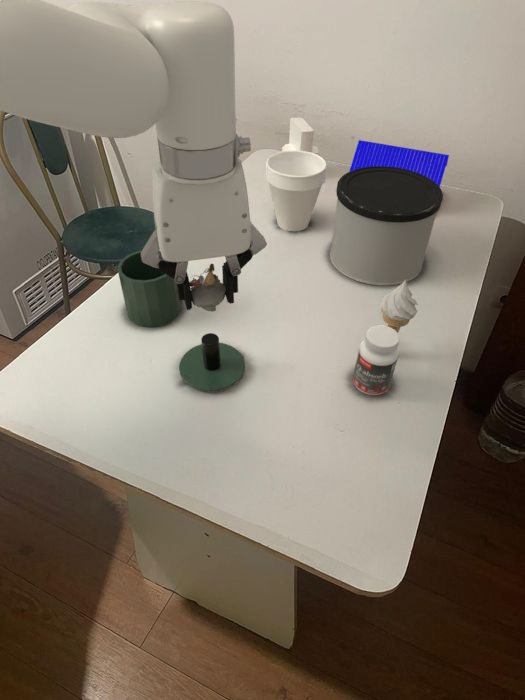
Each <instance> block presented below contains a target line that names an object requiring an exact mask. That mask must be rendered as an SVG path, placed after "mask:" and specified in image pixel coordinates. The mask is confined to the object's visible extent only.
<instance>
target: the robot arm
mask: <svg viewBox="0 0 525 700" xmlns="http://www.w3.org/2000/svg"><path fill="white" fill-rule="evenodd" d="M235 55H236V54H235V27H234V23H233V19H232V17H231V15H230V13H229V12H228V11H227V10H226V8H224V7H222V6H221V5H218V4H215V3H213V2H209V1H208V2H207V1H200V0H175V1H167V2H164V3H159V4H157V5H155V6H149V5H148V6H147V5H131V4H122V3H121V4H120V3H113V2H111V3H110V2H101V1H82V2H77V3H74V4H71V5H69V6H67V7H65V8H64V7H61V6H58V5H55V4H53V3H50V2H47V1H44V0H0V111H1V112H4V113H6V114H10V115H12V116H15V117H19V118H22V119H26V120H29V121H33V122H35V123H41V124H44V125H48V126H53V127H57V128H61V129H66V130H69V131H73V132H78V133H82V134H87V135H90V136H95V137H100V138H109V139H126V138H132V137H136V136H138V135H141V134H143V133H145V132H147V131H149V130H150V129H151V128H153V126H154V125H155V130H156V137H157V138H156V139H157V147H158V155H159V161H157V162H156V163H155V164H154V165H153V169H152V185H151V186H152V187H151V188H152V189H151V191H152V207H153V210H152V211H153V219H154V220H153V221H154V230H153V231H152V232H153V233H152V234H151V235H150V237H149V238H148V239H147V242H146V243H145V245H144V247H143V248H142V250H140V251H141V260H142V262H143V263H145V264H147V265H150V266H152V267H154V268H158V269H160V271H161V272H163V273H165V274H166V275H168V276H170V277H171V278H173V279H174V280H175V282H176V285H177V293H178V299H179V301H180V302H182V301H184V305H185V309H186V311H189V310H192V309H193V302H192V299H191V289H190V288H191V286H190V279H189V275H188V266H189V265H188V264H189V262H191V261H199V260H207V259H213V258H214V259H215V258H222V257H223V258H225V262H223V264H222V265H221V268H222V269H221V270H222V283H223V284H224V285H225V287H226V291H225V298H226V302H227V303H228V304H229V305H230V304H231V305H232V304H234V303H235V294H237V293H238V292H239V276H240V275H241V273H242V269H243V268H244V267H245V266H246V265H247V264H248V263H249V262H250V261H251V260H252V259H253V256H254V255H258V253H260V252H261V251H262V250H264V249H265V248H266V247H267V245H268V243H267V241H266V238H265V237H264V235H263V234H262V233H261V232H260V231H259V229H258V228H257V227H256V226H255V225H254V224H253V223H252V222H251V214H250V203H249V193H248V187H247V181H246V176H245V171H244V167H243V164H242V160H241V159H240V157H241V156H240V155H242V154H244V153H248V152H251V149H252V146H251V139H250V137H248V136H247V137H243V136H239V135H238V134H237V127H236V126H237V125H236V124H237V123H236V122H237V121H236V120H237V119H236V115H237V114H236V64H235V63H236V61H235V60H236V56H235ZM159 251H161V255H160V254H158V252H159Z"/></svg>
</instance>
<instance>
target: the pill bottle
mask: <svg viewBox="0 0 525 700" xmlns="http://www.w3.org/2000/svg"><path fill="white" fill-rule="evenodd" d="M399 344H400V334H399V332H398V333H397V332H396V331H395V330H394V329H392V328H390V327H388V325H383V324H377V325H372V326H370V327H369V328H368V329H367V330H366V331H365V336H364V339H363V340H362V341H361V342H360V344H359V347H358V350H357V351H358V352H357V356H356V360H355V366H354V370H353V375H352V383H353V384H354V386H355V388H356V389H357V390H358V391H360V392H361V393H362V394H365V395H368V396H378V395H382V394H385V393H386V392H387V391H388V390H389V389H390V387H391V384H392V380H393V376H394V373H395V369H396V366H397V363H398V360H399V354H400V350H399Z"/></svg>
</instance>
